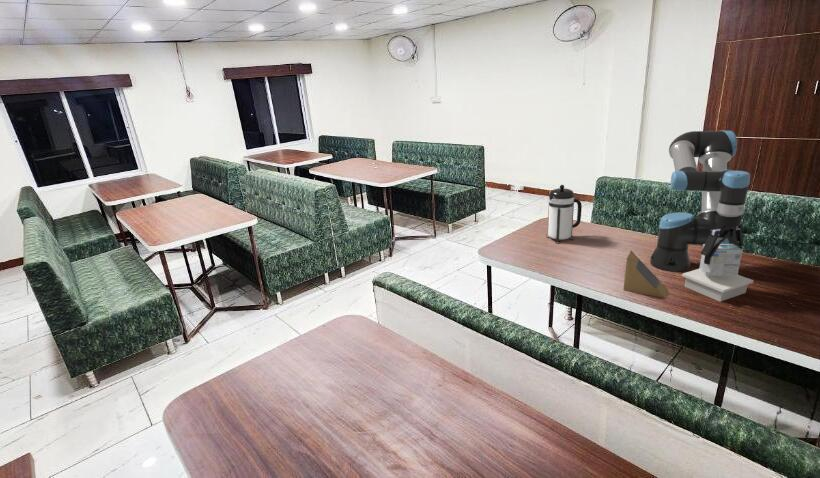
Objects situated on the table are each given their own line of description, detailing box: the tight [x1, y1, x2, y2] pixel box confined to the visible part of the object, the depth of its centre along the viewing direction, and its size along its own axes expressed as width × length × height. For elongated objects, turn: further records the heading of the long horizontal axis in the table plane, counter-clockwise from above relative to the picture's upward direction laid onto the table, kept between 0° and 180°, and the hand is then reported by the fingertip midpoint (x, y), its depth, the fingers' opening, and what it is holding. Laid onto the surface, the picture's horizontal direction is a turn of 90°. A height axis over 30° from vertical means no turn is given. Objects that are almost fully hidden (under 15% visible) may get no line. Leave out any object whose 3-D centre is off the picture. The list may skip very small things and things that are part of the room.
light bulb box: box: [698, 244, 744, 276], centre depth 155 cm, size 11×7×11 cm, turn 78°
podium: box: [681, 268, 754, 302], centre depth 159 cm, size 16×16×6 cm
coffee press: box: [545, 184, 583, 243], centre depth 218 cm, size 17×16×30 cm
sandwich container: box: [622, 249, 669, 299], centre depth 161 cm, size 9×15×15 cm, turn 56°
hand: (718, 267), depth 156 cm, fingers closed on light bulb box, 12 cm apart
